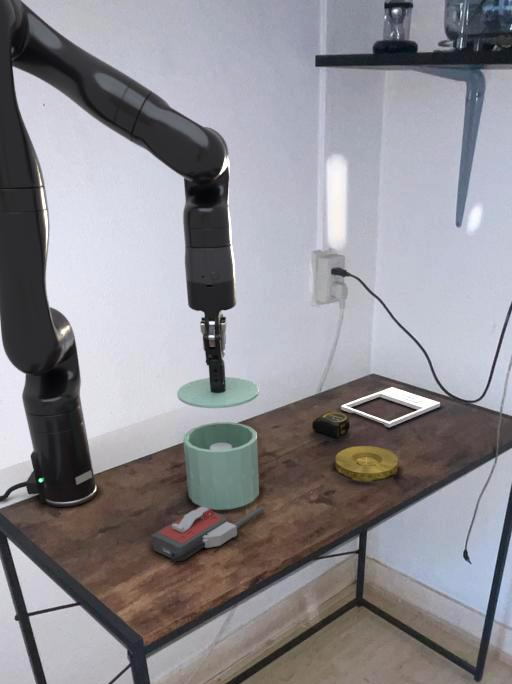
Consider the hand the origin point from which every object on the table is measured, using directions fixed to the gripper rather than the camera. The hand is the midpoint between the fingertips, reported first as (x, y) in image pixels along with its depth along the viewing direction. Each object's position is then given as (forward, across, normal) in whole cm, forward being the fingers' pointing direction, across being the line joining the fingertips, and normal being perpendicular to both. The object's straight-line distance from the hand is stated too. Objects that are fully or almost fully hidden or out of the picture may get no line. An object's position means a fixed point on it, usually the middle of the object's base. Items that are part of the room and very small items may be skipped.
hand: (217, 383), depth 114 cm
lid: (+2, 0, 0) cm, 2 cm away
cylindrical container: (+21, 0, 0) cm, 21 cm away
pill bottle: (+21, 0, 0) cm, 21 cm away
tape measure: (+21, -25, +22) cm, 40 cm away
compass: (+21, -8, +27) cm, 35 cm away
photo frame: (+21, -39, +37) cm, 58 cm away
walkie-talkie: (+21, +14, -2) cm, 25 cm away
